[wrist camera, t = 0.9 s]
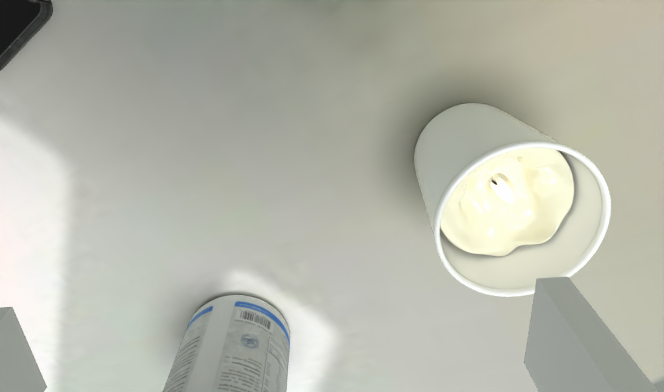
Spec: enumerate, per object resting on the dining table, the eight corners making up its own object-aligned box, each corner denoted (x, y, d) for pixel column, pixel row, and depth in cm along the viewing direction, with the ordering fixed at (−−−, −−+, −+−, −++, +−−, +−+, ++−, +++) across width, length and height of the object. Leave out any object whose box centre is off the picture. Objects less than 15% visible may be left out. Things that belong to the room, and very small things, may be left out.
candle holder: (544, 178, 39) (629, 258, 28) (431, 227, 40) (469, 320, 29) (505, 68, 35) (586, 110, 24) (383, 127, 37) (407, 191, 26)
